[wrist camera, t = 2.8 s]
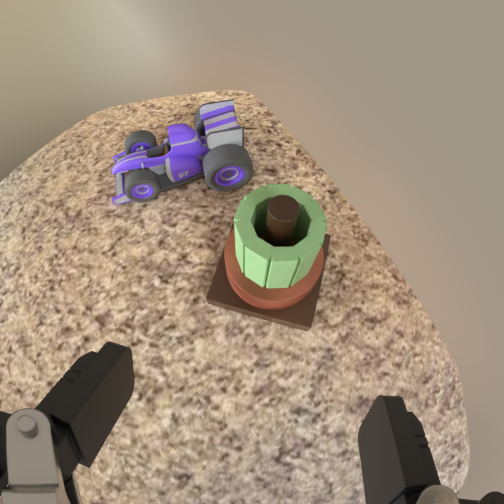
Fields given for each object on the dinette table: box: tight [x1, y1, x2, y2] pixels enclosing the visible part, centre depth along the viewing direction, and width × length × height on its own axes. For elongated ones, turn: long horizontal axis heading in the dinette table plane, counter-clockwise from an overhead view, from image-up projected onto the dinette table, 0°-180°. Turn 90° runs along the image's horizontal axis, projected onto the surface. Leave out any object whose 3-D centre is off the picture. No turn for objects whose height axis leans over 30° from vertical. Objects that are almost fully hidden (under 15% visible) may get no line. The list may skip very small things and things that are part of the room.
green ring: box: [234, 184, 327, 288], centre depth 23 cm, size 6×6×5 cm
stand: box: [206, 195, 330, 331], centre depth 24 cm, size 9×9×10 cm
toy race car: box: [111, 99, 254, 205], centre depth 31 cm, size 10×15×6 cm, turn 104°
